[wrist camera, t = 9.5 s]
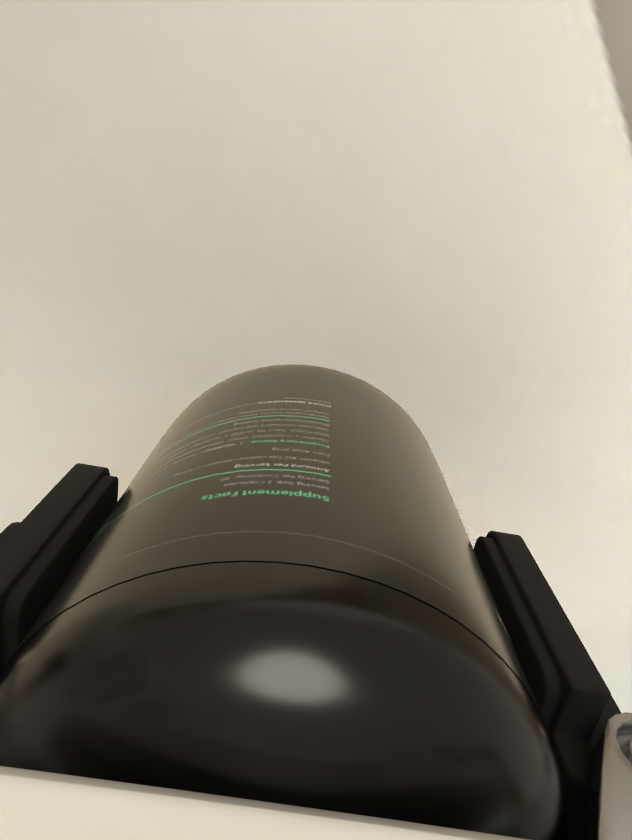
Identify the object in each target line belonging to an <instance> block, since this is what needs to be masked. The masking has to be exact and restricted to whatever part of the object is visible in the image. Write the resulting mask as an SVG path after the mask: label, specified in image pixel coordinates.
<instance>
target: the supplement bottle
mask: <svg viewBox="0 0 632 840" xmlns="http://www.w3.org/2000/svg"><path fill="white" fill-rule="evenodd" d="M0 766H4V767H12V768H20V769H27V770H35V771H42V772H50V773H57V774H65V775H72V776H80V777H87V778H95V779H102V780H110V781H117V782H125V783H132V784H140V785H147V786H155V787H162V788H170V789H177V790H185V791H192V792H199V793H206V794H214V795H221V796H228V797H235V798H242V799H250V800H257V801H264V802H271V803H278V804H286V805H293V806H300V807H307V808H314V809H321V810H328V811H335V812H343V813H350V814H357V815H364V816H371V817H378V818H385V819H392V820H399V821H406V822H413V823H420V824H426V825H433V826H440V827H447V828H454V829H461V830H467V831H474V832H481V833H488V834H495V835H502V836H509V837H515V838H522V839H529V840H569V811H568V803H567V797H566V792H565V786H564V781H563V777H562V774H561V770H560V767H559V764H558V761H557V758H556V755H555V752H554V749H553V746H552V743H551V740H550V737H549V735H548V732H547V729H546V726H545V723H544V720H543V717H542V715H541V712H540V710H539V707H538V705H537V702H536V700H535V698H534V695H533V693H532V690H531V688H530V685H529V683H528V681H527V678H526V676H525V673H524V671H523V668H522V666H521V664H520V661H519V659H518V656H517V654H516V652H515V649H514V647H513V644H512V642H511V639H510V637H509V635H508V632H507V630H506V627H505V625H504V622H503V620H502V618H501V615H500V613H499V610H498V608H497V606H496V603H495V601H494V598H493V596H492V593H491V591H490V589H489V586H488V584H487V581H486V579H485V577H484V574H483V572H482V569H481V567H480V564H479V562H478V560H477V557H476V555H475V552H474V550H473V548H472V545H471V543H470V540H469V538H468V535H467V533H466V531H465V528H464V526H463V523H462V521H461V519H460V516H459V514H458V511H457V509H456V506H455V504H454V502H453V499H452V497H451V494H450V492H449V490H448V487H447V485H446V482H445V480H444V477H443V475H442V473H441V470H440V468H439V466H438V464H437V462H436V460H435V457H434V455H433V453H432V451H431V449H430V447H429V445H428V443H427V441H426V439H425V438H424V436H423V434H422V433H421V431H420V430H419V428H418V427H417V425H416V424H415V423H414V422H413V420H412V419H411V418H410V416H409V415H408V414H407V413H406V412H405V411H404V410H403V409H402V408H401V407H400V406H399V405H398V404H397V403H396V402H394V401H393V400H392V399H391V398H390V397H389V396H387V395H386V394H384V393H383V392H381V391H380V390H379V389H377V388H376V387H374V386H372V385H370V384H368V383H366V382H365V381H363V380H360V379H358V378H356V377H353V376H351V375H349V374H346V373H342V372H339V371H336V370H332V369H328V368H323V367H317V366H309V365H277V366H269V367H263V368H258V369H254V370H251V371H247V372H244V373H241V374H238V375H236V376H233V377H231V378H229V379H227V380H225V381H222V382H220V383H218V384H217V385H215V386H214V387H212V388H210V389H209V390H207V391H206V392H204V393H203V394H202V395H201V396H199V397H198V398H197V399H196V400H194V401H193V402H192V403H191V404H190V405H189V406H188V407H187V408H186V409H185V410H184V411H183V412H182V413H181V414H180V415H179V417H178V418H177V419H176V420H175V421H174V423H173V424H172V425H171V427H170V428H169V429H168V431H167V432H166V433H165V435H164V436H163V437H162V438H161V440H160V441H159V443H158V444H157V446H156V447H155V449H154V450H153V451H152V453H151V454H150V456H149V457H148V459H147V460H146V462H145V463H144V465H143V466H142V467H141V469H140V470H139V472H138V473H137V475H136V476H135V478H134V479H133V481H132V482H131V483H130V485H129V486H128V488H127V489H126V491H125V492H124V494H123V495H122V497H121V498H120V499H119V501H118V502H117V504H116V505H115V507H114V508H113V510H112V511H111V512H110V514H109V515H108V517H107V518H106V520H105V521H104V523H103V524H102V526H101V527H100V528H99V530H98V531H97V533H96V534H95V536H94V537H93V539H92V540H91V542H90V543H89V544H88V546H87V547H86V549H85V550H84V552H83V553H82V555H81V556H80V558H79V559H78V560H77V562H76V563H75V565H74V566H73V568H72V569H71V571H70V572H69V574H68V575H67V576H66V578H65V579H64V581H63V582H62V584H61V585H60V587H59V588H58V590H57V591H56V592H55V594H54V595H53V597H52V598H51V600H50V601H49V603H48V604H47V605H46V607H45V608H44V610H43V611H42V613H41V614H40V616H39V617H38V619H37V620H36V622H35V623H34V624H33V626H32V627H31V629H30V630H29V632H28V633H27V635H26V636H25V638H24V639H23V640H22V642H21V643H20V645H19V646H18V648H17V649H16V651H15V652H14V654H13V655H12V657H11V658H10V660H9V661H8V663H7V664H6V666H5V667H4V669H3V670H2V672H1V674H0Z"/></svg>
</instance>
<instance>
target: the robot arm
mask: <svg viewBox="0 0 632 840" xmlns="http://www.w3.org/2000/svg"><path fill="white" fill-rule="evenodd" d="M117 497H118V478H117V477H113V476H110V473H109V470H108V468H104V467H98V466H92V465H86V464H79V463H77V464H76V465H75V466H74V467H73V468H72V469H71V470H70V471H69V472H68V473H67V474H66V475H65V476H64V477H63V478H62V479H61V481H60V482H59V483H58V484H57V485H56V486H55V487H54V488H53V489H52V490H51V491H50V492H49V493H48V494H47V495H46V496H45V497H44V499H43V500H42V501H41V502H40V503H39V504H38V505H37V506H36V507H35V508H34V509H33V510H32V511H31V512H30V513H29V514H28V516H27V517H26V518H25V519H24V520H23V521H22V522H21V523H19V522H16V523H12V524H10V525H9V526H8V527H7V528H6V529H5V530H4V531H3V532H2V533H1V534H0V674H1V672H2V670H3V669H4V667H5V666H6V664H7V663H8V661H9V660H10V658H11V657H12V655H13V654H14V652H15V651H16V649H17V648H18V646H19V645H20V643H21V642H22V640H23V639H24V638H25V636H26V635H27V633H28V632H29V630H30V629H31V627H32V626H33V624H34V623H35V622H36V620H37V619H38V617H39V616H40V614H41V613H42V611H43V610H44V608H45V607H46V605H47V604H48V603H49V601H50V600H51V598H52V597H53V595H54V594H55V592H56V591H57V590H58V588H59V587H60V585H61V584H62V582H63V581H64V579H65V578H66V576H67V575H68V574H69V572H70V571H71V569H72V568H73V566H74V565H75V563H76V562H77V560H78V559H79V558H80V556H81V555H82V553H83V552H84V550H85V549H86V547H87V546H88V544H89V543H90V542H91V540H92V539H93V537H94V536H95V534H96V533H97V531H98V530H99V528H100V527H101V526H102V524H103V523H104V521H105V520H106V518H107V517H108V515H109V514H110V512H111V511H112V510H113V508H114V507H115V505H116V504H117ZM474 552H475V555H476V557H477V560H478V562H479V564H480V567H481V569H482V572H483V574H484V577H485V579H486V581H487V584H488V586H489V589H490V591H491V593H492V596H493V598H494V601H495V603H496V606H497V608H498V610H499V613H500V615H501V618H502V620H503V622H504V625H505V627H506V630H507V632H508V635H509V637H510V639H511V642H512V644H513V647H514V649H515V652H516V654H517V656H518V659H519V661H520V664H521V666H522V668H523V671H524V673H525V676H526V678H527V681H528V683H529V685H530V688H531V690H532V693H533V695H534V698H535V700H536V702H537V705H538V707H539V710H540V712H541V715H542V717H543V720H544V723H545V726H546V729H547V732H548V735H549V737H550V740H551V743H552V746H553V749H554V752H555V755H556V758H557V761H558V764H559V767H560V770H561V774H562V777H563V781H564V786H565V792H566V797H567V803H568V811H569V840H632V713H621V712H620V710H619V708H618V706H617V705H616V703H615V701H614V699H613V698H612V696H611V693H610V691H609V689H608V688H607V686H606V684H605V682H604V681H603V679H602V677H601V675H600V674H599V672H598V670H597V668H596V667H595V665H594V663H593V661H592V660H591V658H590V656H589V654H588V653H587V651H586V649H585V647H584V646H583V644H582V642H581V640H580V639H579V637H578V635H577V633H576V632H575V630H574V628H573V626H572V625H571V623H570V621H569V619H568V618H567V616H566V614H565V612H564V611H563V609H562V607H561V605H560V604H559V602H558V600H557V598H556V597H555V595H554V593H553V591H552V590H551V588H550V586H549V584H548V583H547V581H546V579H545V577H544V576H543V574H542V572H541V570H540V569H539V567H538V565H537V563H536V562H535V560H534V558H533V556H532V555H531V553H530V551H529V549H528V548H527V546H526V544H525V542H524V541H523V539H522V538H521V536H519V535H513V534H507V533H501V532H495V531H490V532H489V533H488V534H487V536H486V537H481V536H480V537H479V538H478V539H477V541H476V544H475V547H474ZM0 840H529V839H522V838H515V837H509V836H502V835H495V834H488V833H481V832H474V831H467V830H461V829H454V828H447V827H440V826H433V825H426V824H420V823H413V822H406V821H399V820H392V819H385V818H378V817H371V816H364V815H357V814H350V813H343V812H335V811H328V810H321V809H314V808H307V807H300V806H293V805H286V804H278V803H271V802H264V801H257V800H250V799H242V798H235V797H228V796H221V795H214V794H206V793H199V792H192V791H185V790H177V789H170V788H162V787H155V786H147V785H140V784H132V783H125V782H117V781H110V780H102V779H95V778H87V777H80V776H72V775H65V774H57V773H50V772H42V771H35V770H27V769H20V768H12V767H4V766H0Z"/></svg>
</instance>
